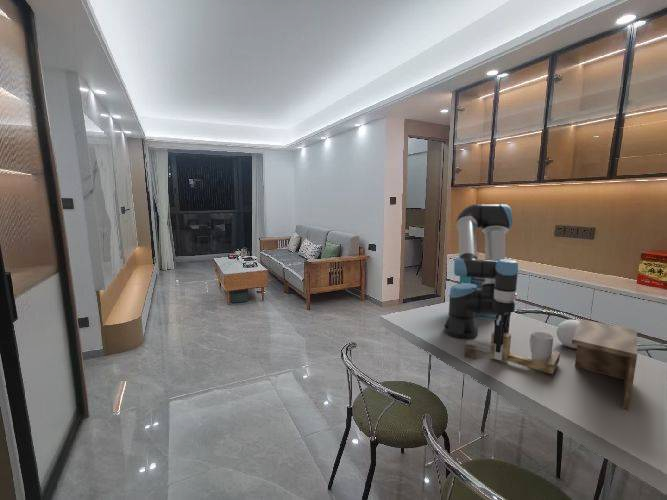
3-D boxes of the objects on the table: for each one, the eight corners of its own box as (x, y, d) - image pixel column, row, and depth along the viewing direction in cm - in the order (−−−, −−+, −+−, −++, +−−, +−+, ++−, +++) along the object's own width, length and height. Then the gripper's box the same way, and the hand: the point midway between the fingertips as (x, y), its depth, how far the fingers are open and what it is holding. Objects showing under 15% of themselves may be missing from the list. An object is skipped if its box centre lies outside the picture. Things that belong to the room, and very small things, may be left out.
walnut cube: (464, 357, 135) (465, 348, 135) (465, 353, 139) (466, 344, 138) (475, 359, 134) (475, 350, 133) (475, 355, 137) (476, 346, 137)
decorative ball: (593, 355, 136) (597, 327, 135) (559, 350, 141) (562, 323, 139) (583, 343, 148) (586, 317, 146) (552, 339, 152) (554, 314, 150)
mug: (555, 368, 126) (557, 338, 124) (538, 369, 125) (540, 339, 124) (537, 356, 136) (539, 328, 134) (521, 357, 135) (523, 329, 133)
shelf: (566, 391, 111) (572, 339, 108) (575, 364, 129) (580, 319, 126) (628, 411, 101) (637, 354, 98) (629, 379, 119) (636, 329, 116)
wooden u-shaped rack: (489, 357, 133) (491, 333, 131) (500, 345, 143) (502, 323, 141) (552, 375, 119) (554, 349, 117) (559, 361, 129) (561, 336, 127)
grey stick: (465, 346, 146) (465, 341, 146) (467, 344, 147) (467, 340, 147) (488, 353, 139) (489, 349, 138) (490, 352, 140) (491, 347, 140)
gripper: (508, 307, 120) (503, 368, 123) (520, 296, 132) (515, 352, 136) (486, 303, 124) (482, 362, 128) (500, 293, 137) (496, 346, 141)
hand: (499, 356), depth 132 cm, fingers closed on wooden u-shaped rack, 4 cm apart
